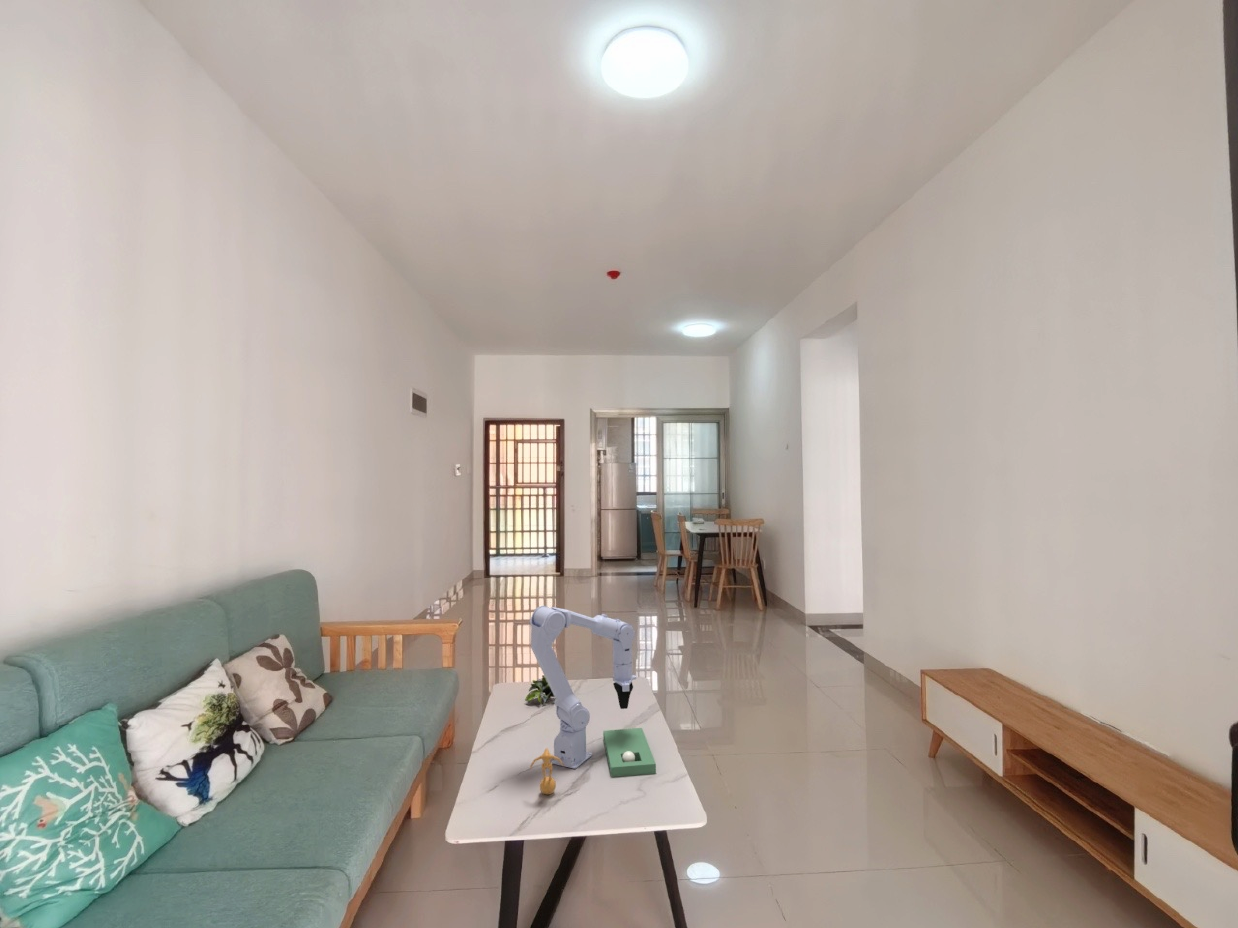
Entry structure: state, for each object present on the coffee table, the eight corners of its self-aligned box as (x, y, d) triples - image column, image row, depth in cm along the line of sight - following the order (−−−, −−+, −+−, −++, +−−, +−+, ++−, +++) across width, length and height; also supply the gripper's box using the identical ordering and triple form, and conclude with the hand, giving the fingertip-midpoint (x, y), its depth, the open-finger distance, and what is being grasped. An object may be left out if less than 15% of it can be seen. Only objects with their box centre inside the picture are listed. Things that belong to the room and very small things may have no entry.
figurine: (564, 788, 152) (563, 740, 152) (564, 800, 146) (562, 751, 146) (532, 790, 151) (531, 742, 152) (530, 802, 145) (529, 753, 146)
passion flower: (548, 713, 217) (566, 684, 219) (545, 719, 206) (564, 688, 209) (522, 695, 218) (541, 667, 221) (518, 700, 207) (538, 670, 210)
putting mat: (656, 773, 159) (655, 763, 159) (611, 776, 157) (611, 767, 157) (642, 736, 182) (642, 727, 183) (603, 738, 181) (603, 730, 181)
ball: (628, 769, 161) (627, 756, 161) (619, 764, 164) (618, 752, 164) (638, 764, 163) (637, 751, 163) (629, 759, 166) (628, 747, 166)
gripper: (639, 668, 172) (640, 716, 172) (632, 654, 186) (633, 698, 186) (615, 670, 171) (616, 717, 171) (610, 655, 186) (611, 699, 185)
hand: (623, 707), depth 178 cm, fingers closed
